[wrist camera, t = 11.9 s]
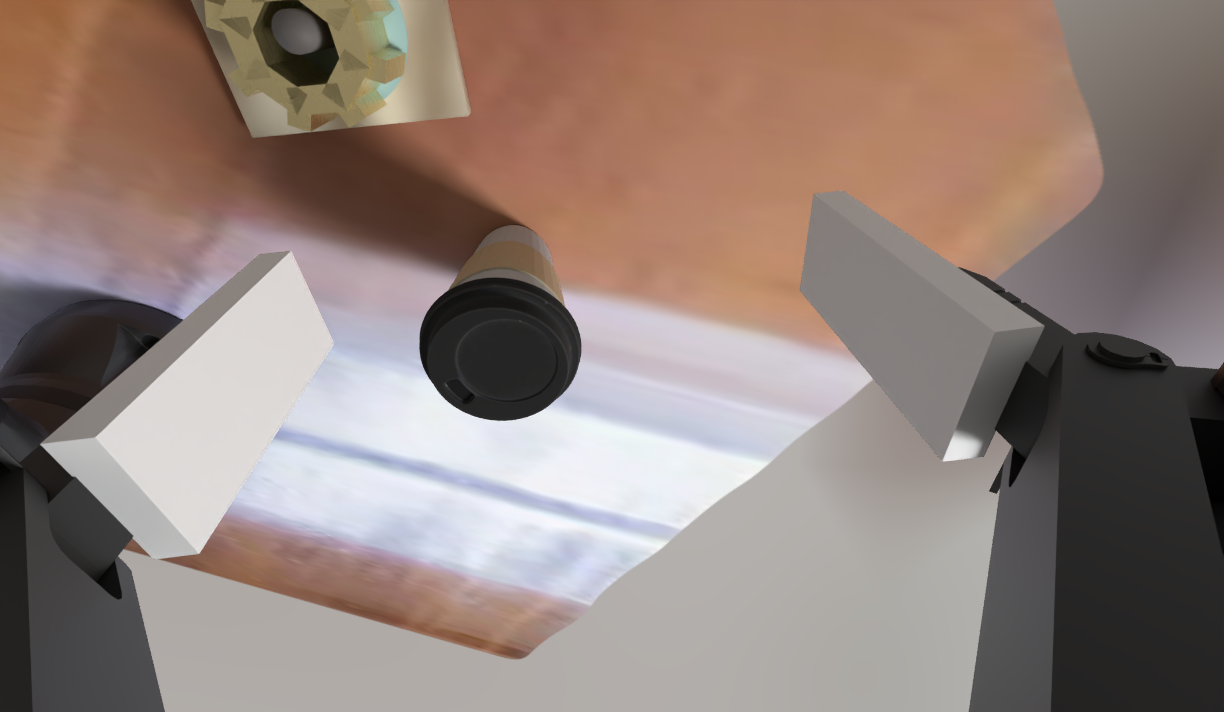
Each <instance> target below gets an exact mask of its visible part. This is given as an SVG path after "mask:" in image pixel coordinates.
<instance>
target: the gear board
mask: <svg viewBox="0 0 1224 712" xmlns="http://www.w3.org/2000/svg"><path fill="white" fill-rule="evenodd" d="M191 2H192V4H193V6H194V9H195V11H196V13H197V15H198V18H199V20H200V22H201V24H202V26H203V29H204V31H205V33H206V35H207V38H208V40H209V42H210V44H211V46H212V49H213V51H214V53H215V55H216V58H217V60H218V62H219V64H220V66H221V69H222V71H223V73H224V75H225V78H226V80H227V82H228V84H229V87H230V89H231V91H232V93H233V95H234V98H235V100H236V102H237V104H238V107H239V109H240V111H241V113H242V115H243V118H244V120H245V122H246V124H247V127H248V129H249V131H250V133H251V136H252V138H258V137H267V136H277V135H287V134H297V133H306V132H310V131H306V130H303V129H299V128H296V127H293V126H289V125H287V109H286V108H284V107H283V106H282V105H280V104H279V103H277V102H276V101H274V100H273V99H271V98H270V97H268V96H267V95H266V94H264V93H263V92H262V93H259V94H256V95H253V96H249V97H246V96H245V95H244V94H243V93H242V92H241V90H240V89H239V88H238V87H237V86H236V84H235V83H234V82H233V81H232V80H231V79H230V77H229V76H228V75H229V74H230V73H232V72H233V71H235V70H236V69H238V68H239V66H238V63H237V61H236V59H235V56H234V54H233V52H232V49H231V47H230V45H229V42H228V40H227V38H226V35H225V33H224V32H221V31H217V30H214V29H211V28H208V27H206V16H205V4H204V0H191ZM389 2H390V3H391V5H392V6H393V8H394V9H395V10H394V11H393V12H391V13H390V14H388V15H387V16H385V17H384V18H383V22H384V25H385V29H386V32H387V36H388V40H389V43H390V47H391V48H392V49H395V50H398V51H401V52H404V53H406V60H405V71H404V75H402V76H400V77H398V78H396V79H394V80H392V81H390V82H388V83H386V84H383V83H380V85H379V87H378V89H377V91H378V92H379V94H380V95H381V96H382V98H383V99H384V101H385V102H386V104H387V105H385V106H384V107H382V108H380V109H379V110H377V111H376V112H374V113H372V114H371V115H369V116H368V117H366V118H365V119H363V120H361V121H360V122H358V123H357V124H355V125H353V126H352V127H350V128H355V127H365V126H375V125H385V124H395V123H404V122H414V121H424V120H434V119H443V118H453V117H463V116H469V114H470V113H471V107H470V103H469V98H468V93H467V89H466V84H465V79H464V75H463V70H462V65H461V61H460V56H459V52H458V47H457V42H456V38H455V33H454V28H453V24H452V19H451V14H450V10H449V5H448V0H389ZM272 31H273V34H274V36H275V38H276V40H277V42H278V43H279V44H280V45H281V46H282V47H283V48H284V49H285V50H287V51H288V52H290V53H293V54H298V55H302V54H304V57H306V58H307V59H308V60H310V61H311V62H312V63H314V64H315V65H316V66H318V67H319V68H321V69H322V70H323V71H325V72H326V73H327V74H329V75H331V74H332V72H333V70H334V68H335V66H336V64H337V62H338V60H339V55H338V52H337V49H336V46H335V43H334V40H333V37H332V34H331V31H330V28H329V25H328V23H327V22H326V21H325V20H323V19H322V18H321V17H319V16H318V15H317V14H316V13H314V12H313V11H312V10H310V9H309V8H308V7H307V6H305V5H304V4H303V6H302V8H293V9H281V10H279V11H277V12H276V13H275V15H274V16H273V19H272ZM346 128H349V127H348V125H347V124H346V123H345V121H344V120H343V119H342V118H341V116H340V115H339V114H338V115H337V118H335V119H333V120H331V121H330V122H328V123H326V124H324V125H322V126H320V127H319V128H317V129H315V130H313V131H311V132H316V131H326V130H336V129H346Z"/></svg>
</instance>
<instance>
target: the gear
mask: <svg viewBox="0 0 1224 712" xmlns="http://www.w3.org/2000/svg"><path fill="white" fill-rule="evenodd" d="M204 4H205V16H206V27H208V28H211V29H214V30H217V31H221V32H224V33H225V35H226V38H227V40H228V42H229V45H230V47H231V49H232V52H233V54H234V56H235V59H236V61H237V63H238V66H239V68H238V69H236V70H235V71H233V72H232V73H230V74H229V75H228V76H229V77H230V79H231V80H232V81H233V82H234V83H235V84H236V86H237V87H238V88H239V89H240V90H241V92H242V93H243V94H244V95H245V96H246V97H249V96H253V95H256V94H259V93H262V92H263V93H264V94H266V95H267V96H268V97H270V98H271V99H273V100H274V101H276V102H277V103H279V104H280V105H282V106H283V107H284V108H286V109H287V125H289V126H293V127H296V128H299V129H303V130H306V131H310V132H311V131H313V130H315V129H317V128H319V127H320V126H322V125H324V124H326V123H328V122H330V121H331V120H333V119H335V118H337V115H338V114H339V115H340V116H341V118H342V119H343V120H344V121H345V123H346V124H347V125H348V127H349V128H350V127H352V126H353V125H355V124H357V123H358V122H360V121H361V120H363V119H365V118H366V117H368V116H369V115H371V114H372V113H374V112H376V111H377V110H379V109H380V108H382V107H384V106H385V105H387V104H386V102H385V101H384V99H383V98H382V96H381V95H380V94H379V92H378V91H377V89H378V87H379V85H380V83H383V84H386V83H388V82H390V81H392V80H394V79H396V78H398V77H400V76H402V75H404V71H405V60H406V53H404V52H401V51H398V50H395V49H392V48H391V47H390V43H389V40H388V36H387V32H386V29H385V25H384V22H383V18H384V17H385V16H387V15H388V14H390V13H391V12H393V11H394V10H395V9H394V8H393V6H392V5H391V3H390V2H389V0H204ZM303 4H304V5H305V6H307V7H308V8H309V9H310V10H312V11H313V12H314V13H316V14H317V15H318V16H319V17H321V18H322V19H323V20H325V21H326V22H327V23H328V25H329V28H330V31H331V34H332V37H333V40H334V43H335V46H336V49H337V52H338V55H339V60H338V62H337V64H336V66H335V68H334V70H333V72H332V74H331V75H329V74H327V73H326V72H325V71H323V70H322V69H321V68H319V67H318V66H316V65H315V64H314V63H312V62H311V61H310V60H308V59H307V58H306V57H304V54H302V55H298V54H293V53H290V52H288V51H287V50H285V49H284V48H283V47H282V46H281V45H280V44H279V43H278V42H277V40H276V38H275V36H274V34H273V31H272V19H273V16H274V15H275V13H276V12H277V11H279V10H281V9H293V8H302V6H303Z"/></svg>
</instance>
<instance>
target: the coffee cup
mask: <svg viewBox="0 0 1224 712" xmlns="http://www.w3.org/2000/svg"><path fill="white" fill-rule="evenodd" d="M419 349H420V357H421V361H422V364H423V367H424V369H425V372H426V374H427V375H428V377H429V379H430V380H431V382H432V383H433V384H434V386H435V387H436V389H437V390H438V392H439V393H440V394H441V395H442V396H443V397H444V398H445V399H446V400H447V401H448V402H449V403H450V404H452V405H453V406H454V407H456V408H458V409H459V410H461V411H463V412H465V413H467V414H470V415H472V416H475V417H479V418H483V419H488V420H497V421H507V420H516V419H521V418H525V417H528V416H531V415H534V414H536V413H538V412H540V411H542V410H543V409H545V408H546V407H548V406H549V405H550V404H551V403H552V402H554V401H555V400H556V399H557V398H558V397H560V396H561V395H562V394H563V393H564V392H565V390H566V389H567V388H568V387H569V385H570V384H571V382H572V381H573V379H574V377H575V375H576V372H577V369H578V365H579V362H580V357H581V338H580V333H579V330H578V327H577V325H576V323H575V321H574V319H573V317H572V315H571V314H570V313H569V311H568V310H567V309H566V308H565V304H564V300H563V296H562V291H561V287H560V283H559V279H558V276H557V274H556V272H555V269H554V266H553V262H552V258H551V254H550V251H549V249H548V247H547V245H546V244H545V242H544V241H543V240H542V239H541V238H540V237H539V236H538V235H537V234H536V233H535V232H533V231H532V230H530V229H528V228H526V227H523V226H519V225H508V226H503V227H500V228H498V229H496V230H494V231H492V232H491V233H489V234H488V235H487V236H486V237H485V238H484V239H483V241H482V242H481V243H480V245H479V246H478V248H477V250H476V251H475V253H474V254H473V255H472V256H471V257H470V258H469V259H468V261H467V262H466V263H465V265H464V266H463V268H462V269H461V271H460V273H459V274H458V276H457V277H456V279H455V280H454V282H453V284H452V285H451V287H450V288H449V290H448V291H447V292H446V293H444V294H443V295H442V296H440V297H439V298H438V299H437V300H436V301H435V302H434V304H433V305H432V306H431V307H430V309H429V310H428V312H427V314H426V315H425V317H424V320H423V323H422V326H421V330H420V348H419Z"/></svg>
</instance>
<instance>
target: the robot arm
mask: <svg viewBox="0 0 1224 712" xmlns="http://www.w3.org/2000/svg"><path fill="white" fill-rule="evenodd" d="M800 291H801V293H802V294H803V295H804V296H805V297H806V299H807V300H808V301H809V302H810V303H811V305H812V306H813V307H814V308H815V309H816V311H817V312H818V313H819V314H820V315H821V317H822V318H823V319H824V320H825V321H826V323H827V324H828V325H829V326H830V327H831V329H832V330H833V331H834V332H835V333H836V335H837V336H838V337H839V338H840V339H841V341H842V342H843V343H844V344H845V345H846V347H847V348H848V349H849V350H850V351H851V353H852V354H853V355H854V356H855V357H856V359H857V360H858V361H859V362H860V363H861V365H862V366H863V367H864V368H865V369H866V371H867V372H868V373H869V374H870V375H871V377H872V378H873V379H874V380H875V382H876V383H877V384H878V385H879V386H880V387H881V389H882V390H883V391H884V392H885V394H886V395H887V396H888V397H889V398H890V399H891V401H892V402H893V403H894V404H895V405H896V407H897V408H898V409H899V410H900V412H901V413H902V414H903V415H904V416H905V418H907V420H908V421H909V422H910V424H911V425H912V426H913V427H914V428H915V430H916V431H917V432H918V433H919V434H920V436H921V437H922V438H923V439H924V440H925V442H926V443H927V444H928V445H929V446H930V448H931V449H932V450H933V451H934V452H935V454H936V455H937V456H938V457H939V458H940V460H941V461H942V462H943V461H952V460H960V459H968V458H976V457H984V455H985V453H986V451H987V449H988V447H989V445H990V442H991V440H992V438H993V436H994V434H995V432H996V431H997V432H998V433H999V434H1000V435H1001V436H1002V437H1003V438H1004V439H1006V441H1007V442H1008V443H1009V444H1011V445H1012V447H1011V449H1010V451H1009V453H1008V455H1007V457H1006V459H1005V461H1004V463H1003V465H1002V467H1001V469H1000V471H999V473H998V475H997V476H996V478H995V480H994V482H993V484H992V486H991V488H990V490H989V491H990V492H993V493H997V492H998V490H999V489H1000V494H999V501H998V508H997V515H996V522H995V530H994V537H993V544H992V550H991V558H990V565H989V572H988V579H987V587H986V593H985V600H984V607H983V615H982V622H981V629H980V636H979V643H978V651H977V657H976V665H975V672H974V679H973V686H972V693H971V700H970V708H969V712H1224V363H1223V364H1222V366H1221V367H1220V368H1219V369H1209V368H1195V367H1181V366H1176V365H1175V364H1174V362H1173V361H1172V359H1171V358H1169V357H1168V356H1166V355H1165V354H1164V353H1162V352H1160V351H1159V350H1158V349H1156V348H1153V347H1151V346H1149V345H1146V344H1144V343H1142V342H1139V341H1137V340H1133V339H1129V338H1125V337H1121V336H1118V335H1112V334H1104V333H1097V332H1093V333H1078V334H1075V335H1074V334H1073V333H1071V332H1070V331H1068V330H1067V329H1065V328H1063V327H1062V326H1060V325H1059V324H1057V323H1056V322H1054V321H1053V320H1051V319H1050V318H1048V317H1047V316H1045V315H1043V314H1042V313H1040V312H1039V311H1037V310H1036V309H1034V308H1033V307H1031V306H1030V305H1028V304H1027V303H1021V300H1020V299H1019V298H1017V297H1016V296H1014V295H1013V294H1011V293H1010V292H1005V289H1004V288H1002V287H1000V286H999V285H997V284H996V283H994V282H993V281H991V280H990V279H988V278H987V277H985V276H982V275H979V274H977V273H974V272H971V271H968V270H966V269H963V268H960V267H956V266H955V265H953V264H952V263H950V262H949V261H947V260H946V259H944V258H943V257H941V256H940V255H938V254H937V253H935V252H934V251H932V250H931V249H929V248H928V247H926V246H925V245H923V244H922V243H921V242H919V241H918V240H916V239H915V238H913V237H912V236H910V235H909V234H907V233H906V232H904V231H903V230H901V229H900V228H898V227H897V226H895V225H894V224H892V223H891V222H889V221H888V220H886V219H885V218H883V217H882V216H880V215H879V214H877V213H876V212H874V211H873V210H871V209H870V208H868V207H867V206H865V205H864V204H862V203H861V202H859V201H858V200H857V199H855V198H854V197H852V196H851V195H849V194H848V193H846V192H845V191H835V192H825V193H816V194H813V201H812V208H811V215H810V222H809V229H808V236H807V243H806V250H805V257H804V264H803V271H802V278H801V285H800ZM333 345H334V342H333V340H332V338H331V336H330V333H329V331H328V329H327V327H326V325H325V323H324V321H323V318H322V316H321V314H320V312H319V310H318V308H317V305H316V303H315V301H314V299H313V297H312V295H311V293H310V290H309V288H308V286H307V284H306V282H305V280H304V278H303V275H302V273H301V271H300V269H299V267H298V265H297V262H296V260H295V258H294V256H293V254H292V252H291V251H285V252H276V253H267V254H259V255H258V256H257V257H256V258H255V259H254V260H253V261H251V262H250V263H249V264H248V265H247V266H246V267H244V268H243V269H242V270H241V271H240V272H239V273H237V274H236V275H235V276H234V277H233V278H232V279H231V280H229V281H228V282H227V283H226V284H225V285H224V286H222V287H221V288H220V289H219V290H218V291H217V292H215V293H214V294H213V295H212V296H211V297H210V298H209V299H207V300H206V301H205V302H204V303H203V304H202V305H200V306H199V307H198V308H197V309H196V310H195V311H193V312H192V313H191V314H190V315H189V316H188V317H187V318H185V319H184V320H183V321H181V320H180V319H177V318H175V317H173V316H171V315H169V314H166V313H164V312H161V311H158V310H156V309H153V308H149V307H146V306H142V305H138V304H134V303H129V302H122V301H113V300H94V301H85V302H79V303H75V304H72V305H69V306H66V307H64V308H62V309H60V310H58V311H56V312H55V313H53V314H52V315H50V316H49V317H47V318H45V319H44V320H42V321H41V322H39V323H38V324H36V325H35V326H33V327H32V328H31V329H30V330H29V331H28V332H27V333H26V334H25V335H24V336H23V338H22V339H21V341H20V342H19V344H18V346H17V348H16V349H15V351H14V352H13V354H12V355H11V357H10V358H9V360H8V361H7V363H6V364H5V366H4V367H3V369H2V370H1V372H0V712H165V710H164V707H163V702H162V698H161V694H160V690H159V685H158V681H157V677H156V673H155V668H154V664H153V660H152V656H151V652H150V648H149V643H148V639H147V635H146V631H145V627H144V622H143V619H142V614H141V610H140V606H139V601H138V597H137V593H136V589H135V585H134V580H133V576H132V572H131V570H130V569H129V567H128V566H127V565H126V564H125V563H124V562H123V561H122V560H121V559H120V558H119V557H118V555H119V554H120V553H121V551H122V550H123V549H124V548H125V546H126V545H127V544H128V543H129V541H130V540H131V539H132V538H133V539H134V540H135V541H136V542H137V543H138V544H139V545H140V546H141V547H142V548H143V549H144V550H145V551H146V552H147V553H148V554H149V555H150V556H151V557H152V558H153V559H161V558H169V557H177V556H185V555H193V554H199V553H200V551H201V550H202V548H203V547H204V545H205V544H206V542H207V541H208V539H209V537H210V536H211V534H212V533H213V531H214V530H215V528H216V527H217V525H218V523H219V522H220V520H221V519H222V517H223V516H224V514H225V513H226V511H227V509H228V508H229V506H230V505H231V503H232V502H233V500H234V499H235V497H236V495H237V494H238V492H239V491H240V489H241V488H242V486H243V485H244V483H245V481H246V480H247V478H248V477H249V475H250V474H251V472H252V471H253V469H254V467H255V466H256V464H257V463H258V461H259V460H260V458H261V457H262V455H263V453H264V452H265V450H266V449H267V447H268V446H269V444H270V443H271V441H272V439H273V438H274V436H275V435H276V433H277V432H278V430H279V429H280V427H281V426H282V424H283V422H284V421H285V419H286V418H287V416H288V415H289V413H290V412H291V410H292V408H293V407H294V405H295V404H296V402H297V401H298V399H299V398H300V396H301V394H302V393H303V391H304V390H305V388H306V387H307V385H308V384H309V382H310V380H311V379H312V377H313V376H314V374H315V373H316V371H317V370H318V368H319V366H320V365H321V363H322V362H323V360H324V359H325V357H326V356H327V354H328V352H329V351H330V349H331V348H332V346H333Z"/></svg>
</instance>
